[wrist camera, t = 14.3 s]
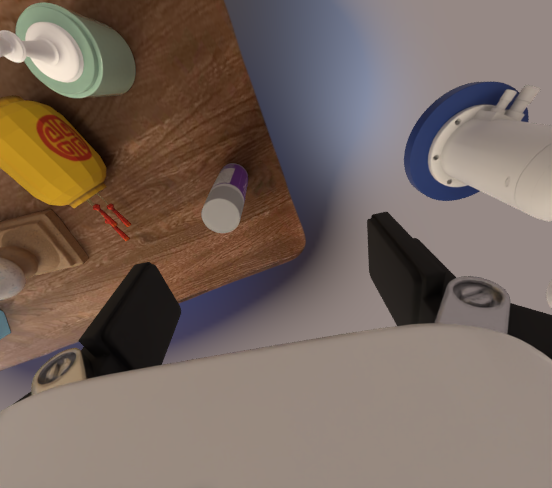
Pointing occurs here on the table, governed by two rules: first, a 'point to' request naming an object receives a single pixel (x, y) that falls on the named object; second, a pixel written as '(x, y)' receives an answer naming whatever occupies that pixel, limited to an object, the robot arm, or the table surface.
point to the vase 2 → (3, 325)
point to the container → (226, 199)
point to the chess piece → (45, 50)
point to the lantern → (50, 157)
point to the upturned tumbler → (84, 53)
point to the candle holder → (35, 249)
